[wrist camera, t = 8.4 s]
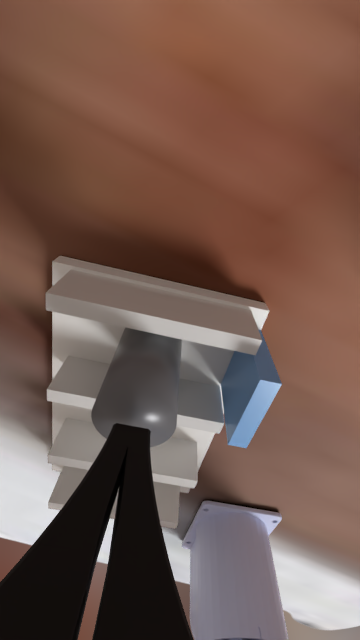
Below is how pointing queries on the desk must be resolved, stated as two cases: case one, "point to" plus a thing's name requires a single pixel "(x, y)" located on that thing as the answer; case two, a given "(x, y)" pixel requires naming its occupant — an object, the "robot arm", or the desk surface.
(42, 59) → the desk surface
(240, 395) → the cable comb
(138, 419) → the plug
